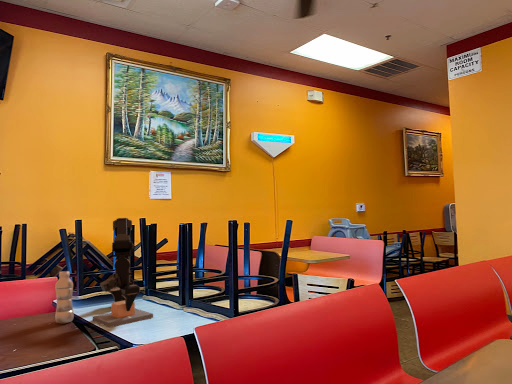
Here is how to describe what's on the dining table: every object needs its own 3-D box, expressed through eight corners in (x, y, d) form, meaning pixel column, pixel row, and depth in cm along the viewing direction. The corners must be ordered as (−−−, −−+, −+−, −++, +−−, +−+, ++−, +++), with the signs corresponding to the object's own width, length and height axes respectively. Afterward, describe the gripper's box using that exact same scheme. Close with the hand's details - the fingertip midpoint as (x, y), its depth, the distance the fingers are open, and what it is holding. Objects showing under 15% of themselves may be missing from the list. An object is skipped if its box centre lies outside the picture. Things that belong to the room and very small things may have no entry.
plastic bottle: (68, 324, 149) (68, 272, 150) (51, 325, 149) (51, 273, 151) (76, 320, 156) (76, 270, 157) (60, 321, 156) (60, 270, 157)
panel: (92, 320, 155) (92, 306, 155) (134, 311, 168) (134, 299, 168) (109, 327, 144) (109, 312, 144) (153, 317, 156) (152, 304, 157)
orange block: (111, 315, 156) (111, 302, 156) (127, 312, 160) (127, 299, 161) (118, 318, 151) (118, 304, 151) (134, 314, 156) (134, 301, 156)
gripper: (93, 270, 158) (93, 309, 157) (113, 274, 145) (113, 317, 144) (119, 267, 166) (120, 304, 165) (140, 271, 152) (141, 311, 151)
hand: (122, 309), depth 156 cm, fingers open, 9 cm apart
